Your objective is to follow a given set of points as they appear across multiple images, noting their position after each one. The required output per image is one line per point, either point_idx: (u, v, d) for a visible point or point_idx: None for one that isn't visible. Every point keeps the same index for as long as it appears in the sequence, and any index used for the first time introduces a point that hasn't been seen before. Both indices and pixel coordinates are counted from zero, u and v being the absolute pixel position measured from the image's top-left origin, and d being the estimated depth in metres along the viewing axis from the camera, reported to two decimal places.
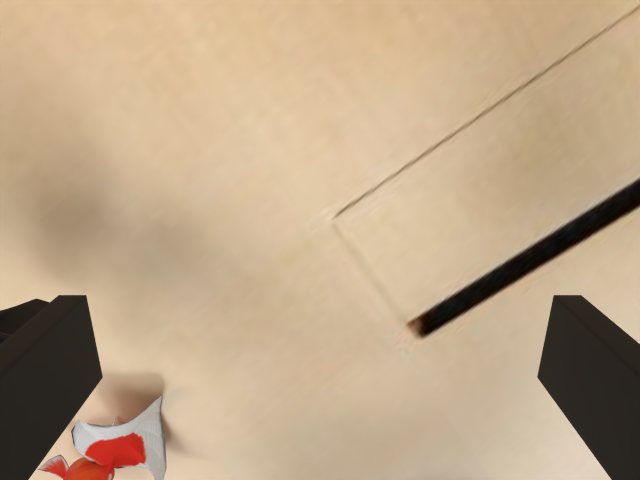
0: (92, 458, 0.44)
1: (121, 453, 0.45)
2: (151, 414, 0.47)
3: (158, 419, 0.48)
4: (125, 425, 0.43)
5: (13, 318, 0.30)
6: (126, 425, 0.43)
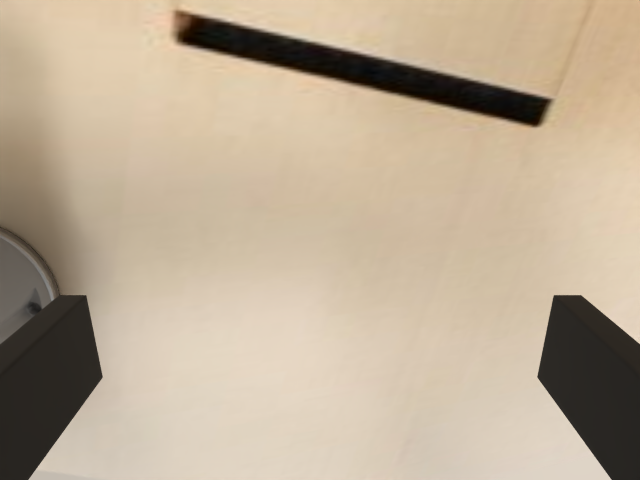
0: None
1: None
2: None
3: None
4: None
5: None
6: None
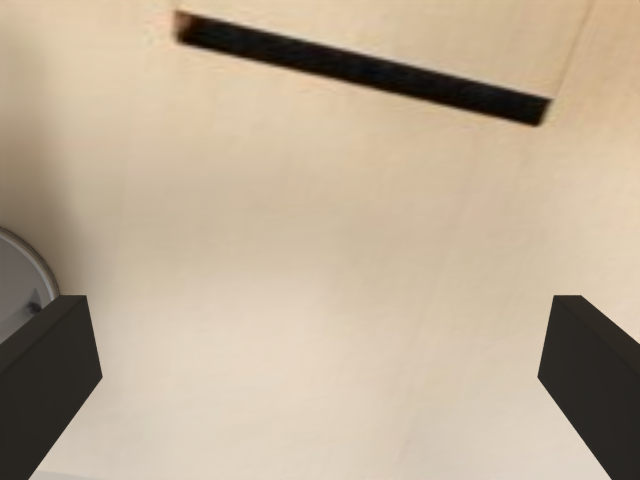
0: None
1: None
2: None
3: None
4: None
5: None
6: None
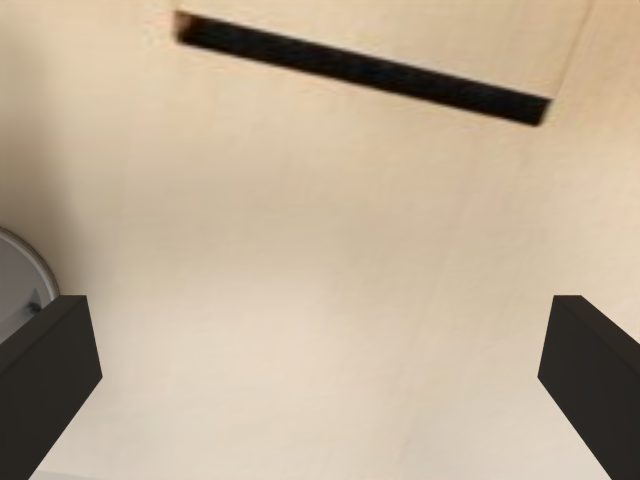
0: None
1: None
2: None
3: None
4: None
5: None
6: None
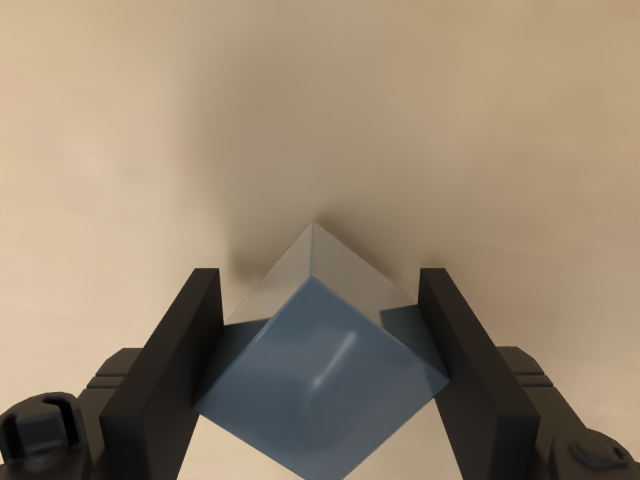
0: None
1: None
2: None
3: None
4: None
5: None
6: None
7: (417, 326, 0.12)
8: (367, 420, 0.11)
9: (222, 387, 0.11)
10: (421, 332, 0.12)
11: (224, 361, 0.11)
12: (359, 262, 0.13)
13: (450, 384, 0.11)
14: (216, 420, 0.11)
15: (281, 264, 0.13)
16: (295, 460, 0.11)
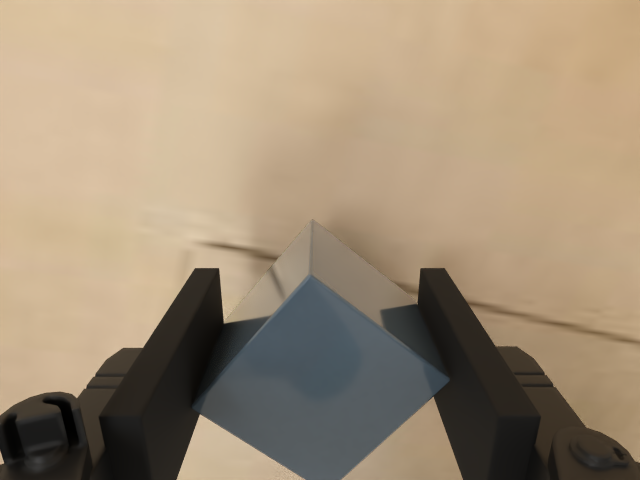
0: None
1: None
2: None
3: None
4: None
5: None
6: None
7: (417, 325, 0.12)
8: (366, 419, 0.11)
9: (221, 386, 0.11)
10: (420, 331, 0.12)
11: (223, 360, 0.11)
12: (359, 261, 0.13)
13: (450, 384, 0.11)
14: (215, 419, 0.11)
15: (280, 263, 0.13)
16: (294, 459, 0.11)
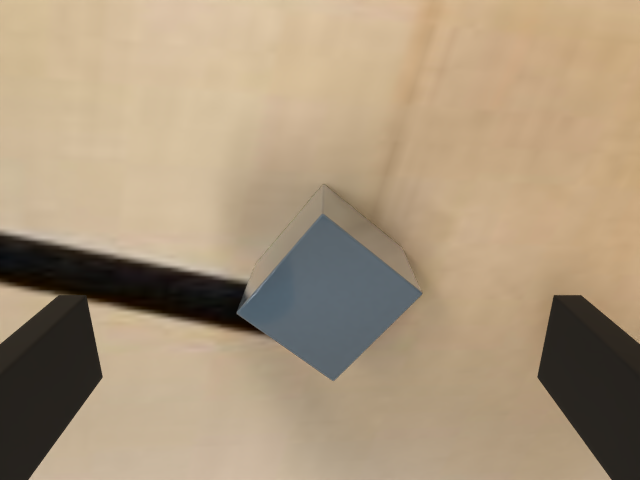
0: None
1: None
2: None
3: None
4: None
5: None
6: None
7: (401, 260, 0.17)
8: (362, 323, 0.15)
9: (258, 296, 0.15)
10: (403, 264, 0.16)
11: (259, 280, 0.15)
12: (358, 215, 0.18)
13: (636, 443, 0.09)
14: (253, 322, 0.15)
15: (299, 216, 0.17)
16: (310, 354, 0.16)
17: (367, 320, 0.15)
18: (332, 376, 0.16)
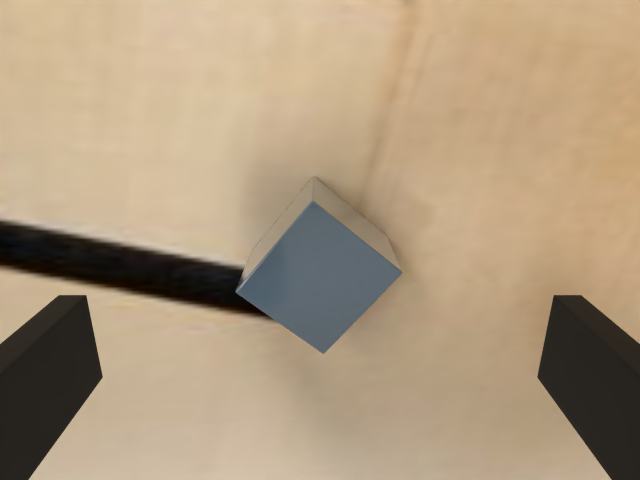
0: None
1: None
2: None
3: None
4: None
5: None
6: None
7: (384, 245, 0.18)
8: (349, 300, 0.17)
9: (255, 276, 0.17)
10: (386, 248, 0.18)
11: (256, 262, 0.17)
12: (346, 205, 0.19)
13: (636, 443, 0.09)
14: (251, 299, 0.17)
15: (292, 205, 0.19)
16: (302, 329, 0.17)
17: (353, 297, 0.17)
18: (322, 349, 0.18)
